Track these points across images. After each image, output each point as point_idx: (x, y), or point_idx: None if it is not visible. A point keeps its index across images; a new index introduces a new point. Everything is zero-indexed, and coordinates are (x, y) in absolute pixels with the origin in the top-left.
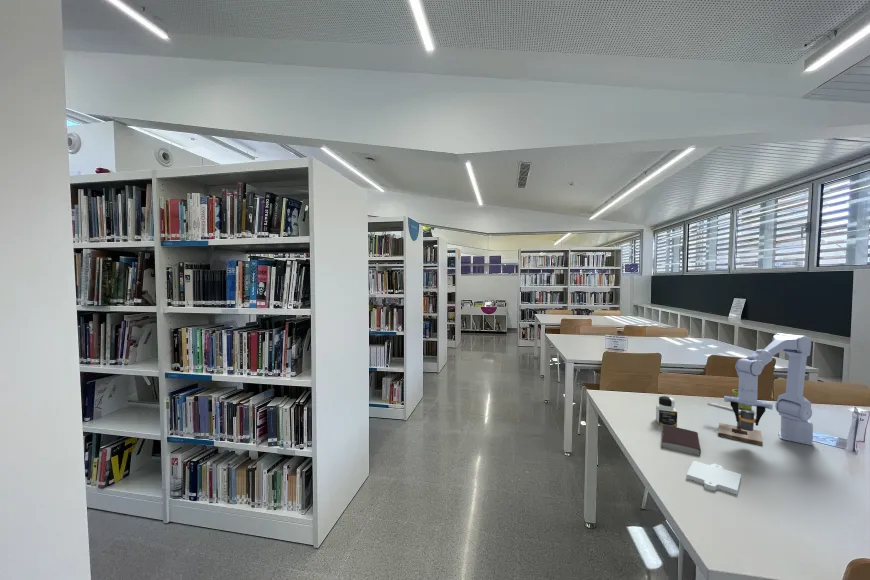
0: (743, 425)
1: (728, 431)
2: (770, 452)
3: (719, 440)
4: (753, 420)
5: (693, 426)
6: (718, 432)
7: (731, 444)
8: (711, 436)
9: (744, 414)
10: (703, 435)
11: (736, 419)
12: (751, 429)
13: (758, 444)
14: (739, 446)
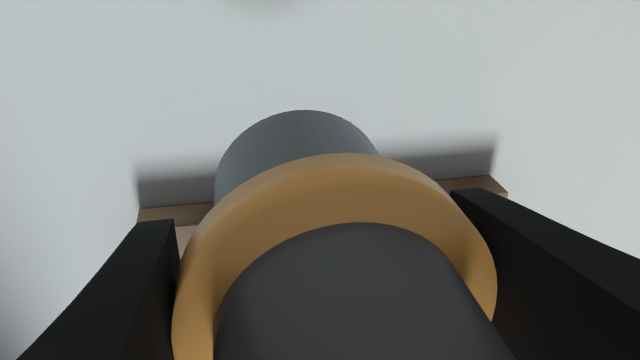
0: (364, 148)
1: None
2: (40, 54)
3: (497, 47)
4: (211, 244)
5: (636, 256)
6: (505, 192)
7: (400, 7)
8: (548, 113)
9: (453, 303)
10: (614, 85)
11: (509, 202)
12: (237, 150)
13: (173, 206)
14: (329, 4)
